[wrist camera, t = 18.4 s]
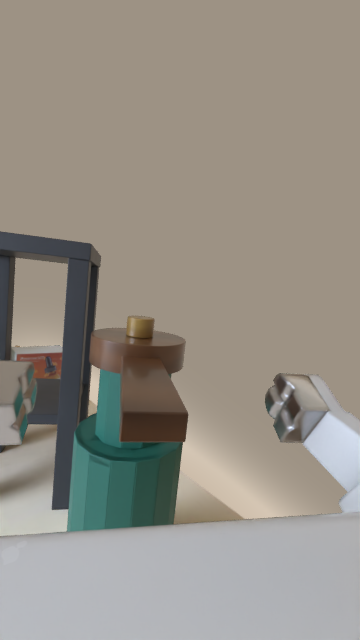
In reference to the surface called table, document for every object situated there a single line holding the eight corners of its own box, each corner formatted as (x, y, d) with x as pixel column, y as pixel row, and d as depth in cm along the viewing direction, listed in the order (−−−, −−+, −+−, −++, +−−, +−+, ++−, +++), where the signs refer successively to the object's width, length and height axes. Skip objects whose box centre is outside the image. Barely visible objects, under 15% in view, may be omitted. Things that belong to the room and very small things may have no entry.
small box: (11, 420, 44) (14, 354, 43) (6, 406, 49) (9, 345, 48) (65, 411, 49) (69, 351, 48) (56, 399, 54) (60, 344, 53)
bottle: (39, 602, 20) (54, 366, 18) (102, 521, 28) (117, 347, 26) (139, 656, 18) (167, 392, 16) (179, 552, 25) (201, 363, 23)
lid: (240, 442, 11) (251, 359, 11) (53, 443, 10) (59, 348, 10) (174, 353, 26) (177, 316, 26) (93, 348, 25) (96, 309, 24)
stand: (71, 509, 29) (91, 243, 26) (-68, 516, 26) (-62, 223, 23) (86, 444, 40) (100, 255, 38) (-9, 444, 38) (-1, 243, 35)
